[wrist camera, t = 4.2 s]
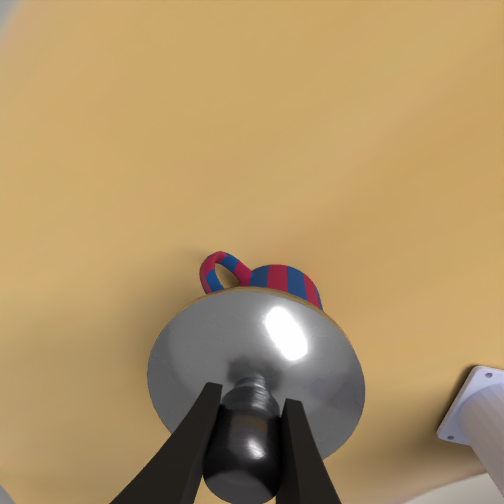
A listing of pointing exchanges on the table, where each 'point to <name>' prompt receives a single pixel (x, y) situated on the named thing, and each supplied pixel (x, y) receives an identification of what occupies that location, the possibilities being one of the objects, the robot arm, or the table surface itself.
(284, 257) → the table surface
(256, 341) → the lid
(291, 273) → the mug
